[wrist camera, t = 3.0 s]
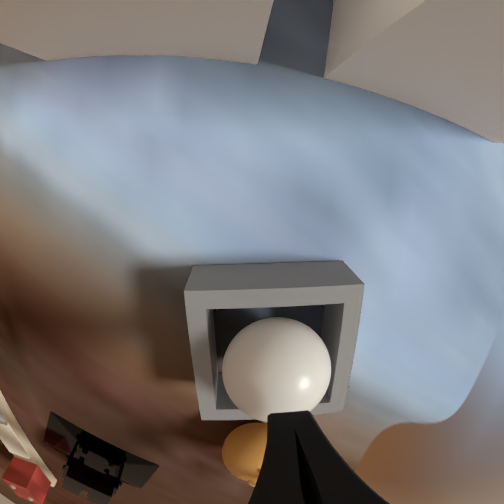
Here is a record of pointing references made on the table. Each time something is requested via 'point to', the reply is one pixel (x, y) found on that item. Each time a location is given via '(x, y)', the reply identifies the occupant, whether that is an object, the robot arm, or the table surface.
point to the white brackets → (338, 54)
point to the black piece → (94, 462)
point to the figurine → (245, 451)
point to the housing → (272, 295)
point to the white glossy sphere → (276, 368)
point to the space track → (23, 460)
